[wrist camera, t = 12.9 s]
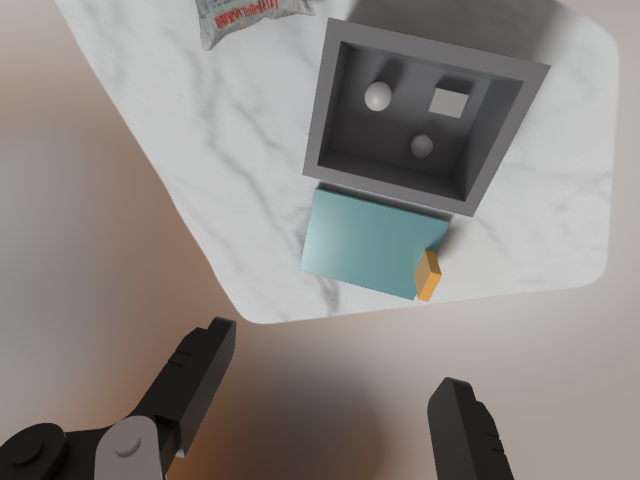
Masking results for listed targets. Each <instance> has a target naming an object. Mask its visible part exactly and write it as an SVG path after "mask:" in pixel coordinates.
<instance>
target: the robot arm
mask: <svg viewBox="0 0 640 480" xmlns="http://www.w3.org/2000/svg"><path fill="white" fill-rule="evenodd" d="M235 337H236V321H233V320H229V319H225V318H221V317H215V318H214V319H213V321H212V322H211V324H210V326H209V327H208V329H207V330H206V329H202V328H198V327H197V328H196V329H195V330H193V331H192V332H190V333H189V334H188V335H187V336H185V337H184V338H183V340H182V341H181V343H180V344H179V346H178V347H177V348H176V350H175V352H174V353H173V354H172V356H171V357H170V359H169V360H168V363H167V364H166V365H165V366H164V368H163V369H162V370H161V372H160V373H159V375H158V376H157V378H156V379H155V380H154V382H153V383H152V385H151V386H150V388H149V389H148V391H147V392H146V394H145V395H144V397H143V398H142V399H141V401H140V402H139V404H138V405H137V407H136V408H135V409H134V410H133V411H132V412H131V413H130V414H129V415H128V416H127V417H125V418H124V419H122V420H121V421H119V422H117V423H116V424H113V425H111V426H109V427H105V428H101V429H94V430H84V431H74V432H63V430H62V429H61V428H60V427H59V426H58V425H56V424H53V423H41V424H36V425H33V426H30V427H28V428H26V429H24V430H22V431H20V432H18V433H17V434H15V435H14V436H12V437H11V438H10V439H9V440H7V441H6V442H5V443H4V444H3V445H2V446H1V447H0V480H167V478H166V473H167V471H168V469H169V467H170V465H171V463H172V461H173V459H174V457H175V456H178V457H182V458H185V456H186V454H187V452H188V450H189V448H190V446H191V444H192V441H193V439H194V437H195V435H196V433H197V431H198V429H199V427H200V425H201V423H202V420H203V418H204V416H205V414H206V412H207V410H208V408H209V406H210V404H211V402H212V399H213V397H214V395H215V393H216V391H217V389H218V386H219V385H220V383H221V381H222V378H223V376H224V374H225V372H226V370H227V368H228V366H229V363H230V361H231V359H232V356H233V353H234V349H235ZM427 410H428V411H427V413H428V421H429V427H430V434H431V439H432V446H433V452H434V458H435V465H436V471H437V477H438V480H514V478H513V475H512V472H511V469H510V466H509V463H508V460H507V457H506V455H505V454H504V449H503V446H502V443H501V440H499V434H498V431H497V428H496V425H495V422H494V419H493V418H492V416H491V415H490V413H489V412H488V410H487V409H486V407H485V406H484V404H483V403H482V402H479V401H476V398H475V395H474V392H473V389H472V387H471V385H470V384H469V383H467V382H465V381H461V380H457V379H453V378H449V377H446V378H445V379H444V380H443V381H442V383H441V384H440V385H439V387H438V388H437V390H436V391H435V392H434V393H433V395H432V396H431V398H430V400H429V403H428V409H427Z"/></svg>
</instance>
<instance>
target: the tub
mask: <svg viewBox="0 0 640 480" xmlns="http://www.w3.org/2000/svg"><path fill="white" fill-rule="evenodd" d="M550 67H551V65H547V64H542V63H537V62H533V61H528V60H523V59H519V58H514V57H510V56H505V55H500V54H496V53H491V52H486V51H482V50H477V49H473V48H468V47H463V46H459V45H454V44H449V43H445V42H440V41H436V40H431V39H426V38H422V37H417V36H412V35H408V34H403V33H399V32H394V31H389V30H385V29H380V28H375V27H371V26H366V25H362V24H357V23H352V22H348V21H343V20H338V19H334V18H329V17H328V23H327V29H326V35H325V41H324V47H323V53H322V59H321V65H320V71H319V77H318V83H317V89H316V95H315V101H314V107H313V113H312V120H311V126H310V132H309V138H308V144H307V150H306V156H305V162H304V168H303V174H302V175H305V176H309V177H313V178H317V179H321V180H325V181H329V182H333V183H337V184H341V185H345V186H349V187H353V188H357V189H361V190H365V191H369V192H373V193H377V194H381V195H385V196H389V197H393V198H397V199H401V200H405V201H409V202H413V203H417V204H421V205H425V206H429V207H433V208H437V209H441V210H445V211H449V212H453V213H457V214H461V215H465V216H469V217H473V215H474V213H475V211H476V210H477V208H478V206H479V204H480V202H481V200H482V198H483V196H484V194H485V192H486V190H487V188H488V186H489V185H490V183H491V181H492V179H493V177H494V175H495V173H496V171H497V169H498V167H499V165H500V163H501V161H502V160H503V158H504V156H505V154H506V152H507V150H508V148H509V146H510V144H511V142H512V140H513V138H514V136H515V135H516V133H517V131H518V129H519V127H520V125H521V123H522V121H523V119H524V117H525V115H526V113H527V111H528V110H529V108H530V106H531V104H532V102H533V100H534V98H535V96H536V94H537V92H538V90H539V88H540V86H541V85H542V83H543V81H544V79H545V77H546V75H547V73H548V71H549V69H550Z"/></svg>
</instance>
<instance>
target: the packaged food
mask: <svg viewBox="0 0 640 480" xmlns="http://www.w3.org/2000/svg"><path fill="white" fill-rule="evenodd" d="M196 4H197V9H198V14H199V23H200V29H201V40H202V48H203V49H204V50H208V51H209V50H212V48H213V47H214V46H215V45H216V44H217V43H218V42H220V40H221V39H222V38H223V37H225V36H226V35H227V34H229V33H232V32H234V31H237V30H241V29H244V28H246V27H249V26H251V25H254V24H255V23H257V22H259V21H260V20H261V19H262V18H263V17H268V18H270V19H277V18H281V17H285V16H289V15H292V14H306V15H310V16H315V14H314V10H313V7H312V5H311V3H310V1H309V0H196Z"/></svg>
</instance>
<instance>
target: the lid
mask: <svg viewBox="0 0 640 480" xmlns="http://www.w3.org/2000/svg"><path fill="white" fill-rule="evenodd" d="M449 224H450V222H449V221H448V220H444V219H440V218H436V217H432V216H428V215H424V214H420V213H416V212H412V211H408V210H404V209H400V208H396V207H392V206H388V205H384V204H380V203H376V202H372V201H368V200H364V199H360V198H356V197H352V196H348V195H344V194H340V193H336V192H332V191H328V190H324V189H320V188H316V189H315V194H314V199H313V204H312V209H311V214H310V219H309V224H308V230H307V235H306V240H305V245H304V250H303V255H302V260H301V266H300V270H302V271H305V272H309V273H313V274H316V275H320V276H324V277H328V278H331V279H335V280H339V281H343V282H346V283H350V284H354V285H357V286H361V287H365V288H369V289H372V290H376V291H380V292H384V293H387V294H391V295H395V296H398V297H402V298H406V299H410V300H413V299H414V297H415V295H416V293H417V296H418V299H420V300H423V301H427V302H428V301H429V299H430V297H431V295H432V293H433V291H434V289H435V287H436V285H437V283H438V282H439V280H440V278H441V276H442V274H441V271H440V268H439V265H438V261H437V258H436V255H435V253H436V251H437V249H438V247H439V245H440V243H441V241H442V239H443V237H444V235H445V232H446V230H447V228H448V226H449Z"/></svg>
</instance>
